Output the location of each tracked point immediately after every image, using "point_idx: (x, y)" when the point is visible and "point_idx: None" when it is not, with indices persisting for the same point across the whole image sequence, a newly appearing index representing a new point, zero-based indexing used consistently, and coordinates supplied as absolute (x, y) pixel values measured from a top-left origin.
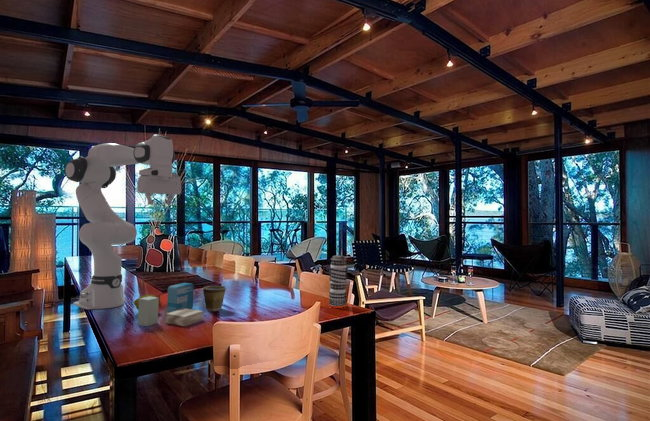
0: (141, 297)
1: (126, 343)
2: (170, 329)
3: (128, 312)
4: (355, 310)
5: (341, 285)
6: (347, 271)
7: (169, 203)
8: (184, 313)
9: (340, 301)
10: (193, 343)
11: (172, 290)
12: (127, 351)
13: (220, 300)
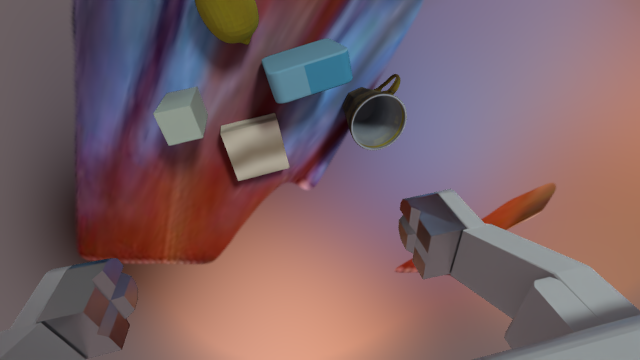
0: (205, 2)
1: (108, 191)
2: (207, 171)
3: None
4: None
5: None
6: None
7: (412, 243)
8: (251, 158)
9: None
10: (201, 247)
11: (272, 91)
12: (101, 224)
13: (366, 133)
